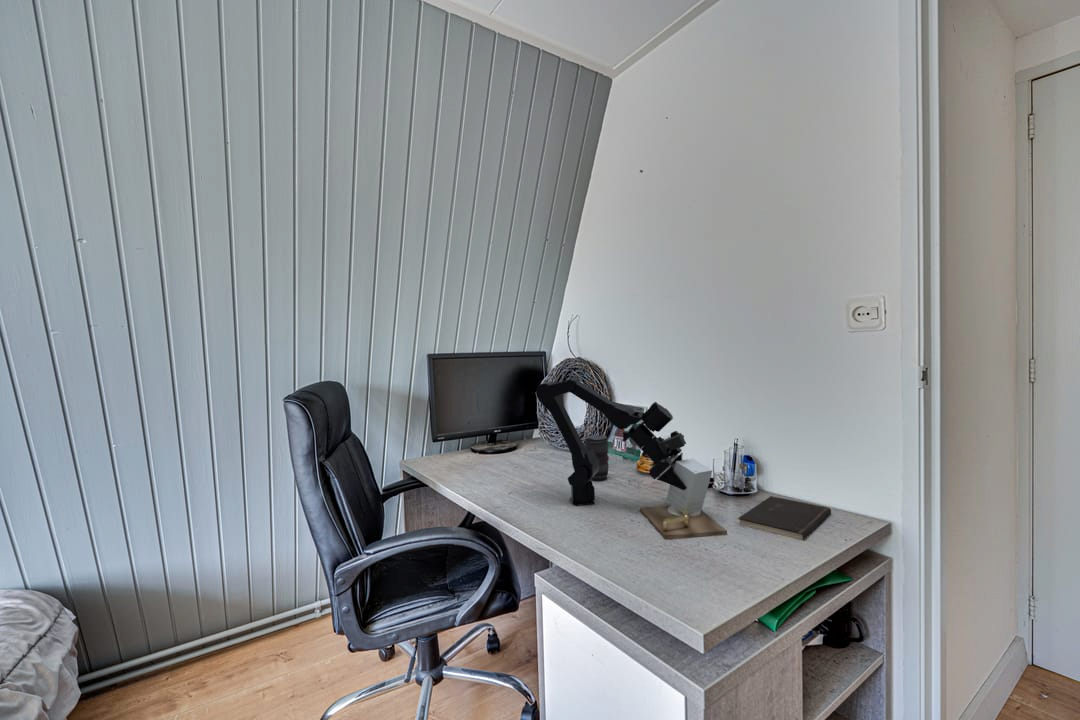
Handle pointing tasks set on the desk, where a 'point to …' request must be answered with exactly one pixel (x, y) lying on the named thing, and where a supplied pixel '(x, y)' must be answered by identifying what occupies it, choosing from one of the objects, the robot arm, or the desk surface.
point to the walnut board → (682, 523)
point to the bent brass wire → (677, 520)
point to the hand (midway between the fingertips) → (688, 484)
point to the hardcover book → (785, 517)
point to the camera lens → (599, 454)
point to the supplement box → (690, 486)
